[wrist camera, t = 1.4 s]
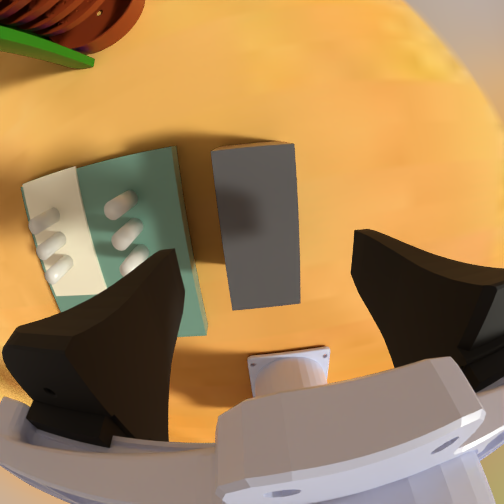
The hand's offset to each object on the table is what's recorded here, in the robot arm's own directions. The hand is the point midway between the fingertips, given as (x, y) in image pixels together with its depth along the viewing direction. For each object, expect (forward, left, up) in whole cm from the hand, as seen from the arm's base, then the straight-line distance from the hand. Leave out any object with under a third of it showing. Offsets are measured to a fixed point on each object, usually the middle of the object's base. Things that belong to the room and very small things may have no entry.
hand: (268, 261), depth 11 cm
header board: (-3, +12, -10) cm, 16 cm away
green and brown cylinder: (+18, +11, -10) cm, 23 cm away
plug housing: (0, 0, -10) cm, 10 cm away
